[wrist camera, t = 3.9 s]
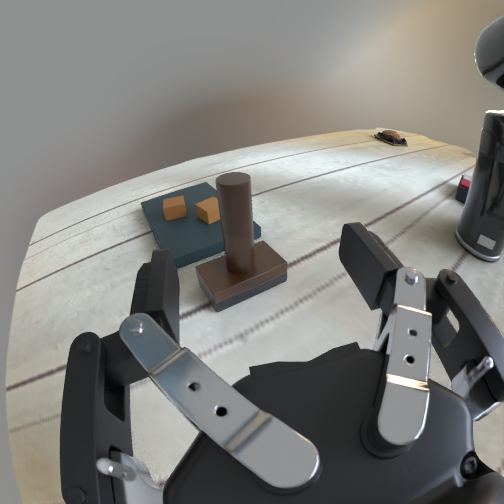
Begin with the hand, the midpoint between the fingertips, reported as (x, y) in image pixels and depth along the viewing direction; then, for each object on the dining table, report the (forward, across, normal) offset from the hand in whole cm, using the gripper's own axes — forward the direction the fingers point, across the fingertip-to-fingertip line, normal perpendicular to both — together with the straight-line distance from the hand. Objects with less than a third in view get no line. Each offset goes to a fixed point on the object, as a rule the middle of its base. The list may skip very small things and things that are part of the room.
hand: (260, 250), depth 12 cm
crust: (+25, +7, +11) cm, 28 cm away
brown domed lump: (+64, -58, +12) cm, 87 cm away
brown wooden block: (+23, +2, +11) cm, 25 cm away
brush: (+11, 0, +12) cm, 16 cm away
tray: (+25, +5, +12) cm, 28 cm away
